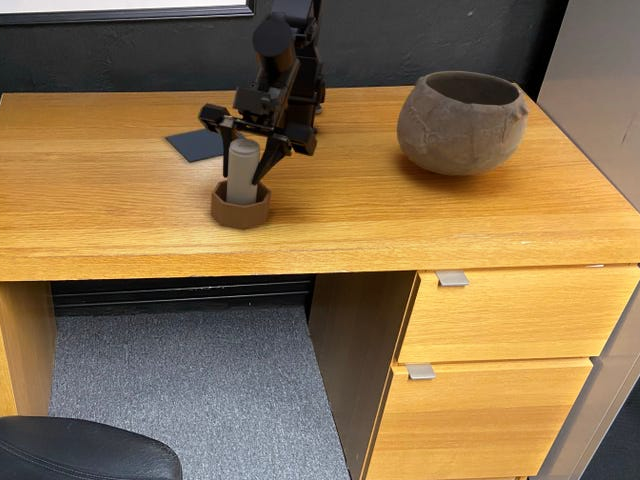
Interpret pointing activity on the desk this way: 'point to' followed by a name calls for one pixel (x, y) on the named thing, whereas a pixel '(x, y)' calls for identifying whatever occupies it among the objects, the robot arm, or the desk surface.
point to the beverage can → (242, 171)
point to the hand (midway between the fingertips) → (238, 180)
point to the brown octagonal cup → (240, 208)
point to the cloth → (199, 144)
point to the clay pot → (462, 122)
